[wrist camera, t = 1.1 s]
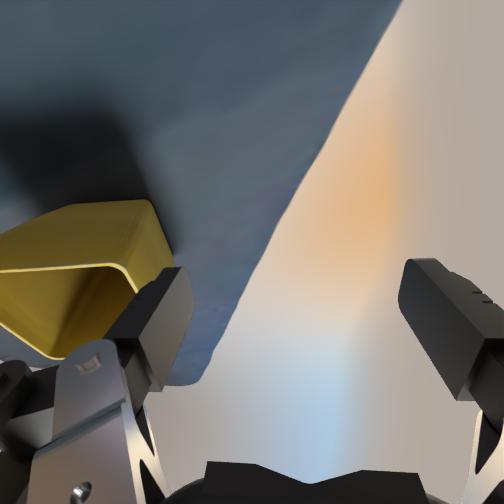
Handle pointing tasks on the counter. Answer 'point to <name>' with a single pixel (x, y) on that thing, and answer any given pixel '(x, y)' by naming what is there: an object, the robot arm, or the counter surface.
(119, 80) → the counter surface
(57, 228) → the flower pot
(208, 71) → the counter surface
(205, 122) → the counter surface
